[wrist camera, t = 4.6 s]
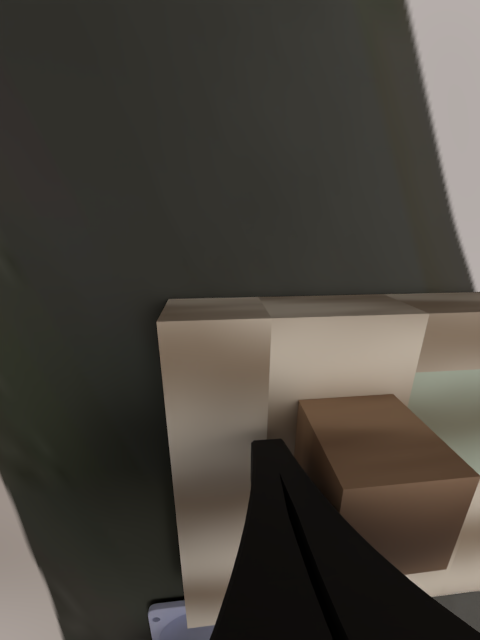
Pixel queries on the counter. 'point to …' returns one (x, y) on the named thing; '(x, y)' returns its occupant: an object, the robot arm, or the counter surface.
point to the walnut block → (387, 476)
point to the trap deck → (300, 384)
